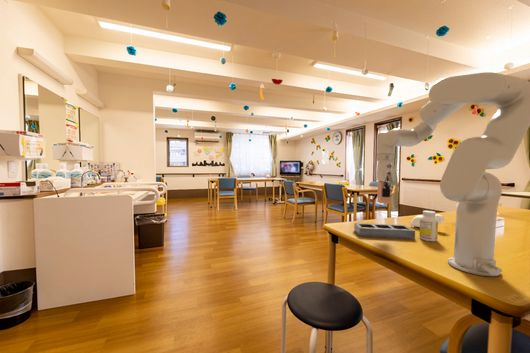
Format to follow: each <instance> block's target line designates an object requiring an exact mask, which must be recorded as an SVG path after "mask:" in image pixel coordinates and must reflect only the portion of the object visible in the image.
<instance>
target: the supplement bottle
mask: <svg viewBox="0 0 530 353" xmlns="http://www.w3.org/2000/svg"><path fill="white" fill-rule="evenodd" d="M436 214H437V213H436V211H433V210H422V215H423V216H422V217H420V227H419V238H420V239H421V240H422V241H427V242H437V241H438V237H439V236H438V234H439V232H438V231H439V229H438V228H439V224H438V219H437V218H436V217H435V215H436Z"/></svg>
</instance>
